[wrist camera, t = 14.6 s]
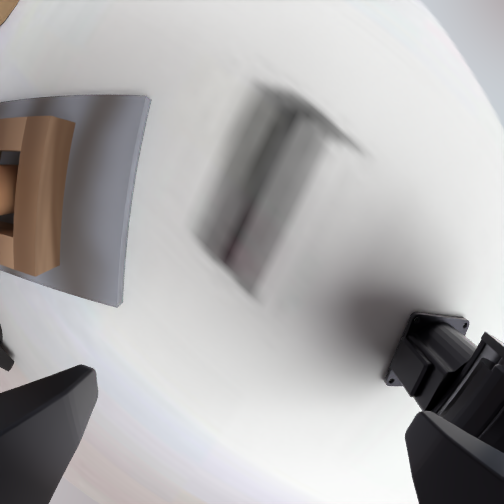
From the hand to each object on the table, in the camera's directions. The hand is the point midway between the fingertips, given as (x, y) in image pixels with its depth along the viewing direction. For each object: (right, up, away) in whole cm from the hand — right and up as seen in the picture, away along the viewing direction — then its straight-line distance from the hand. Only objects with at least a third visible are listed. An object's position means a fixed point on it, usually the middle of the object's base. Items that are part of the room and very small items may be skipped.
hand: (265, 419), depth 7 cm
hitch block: (-18, +9, +11) cm, 23 cm away
